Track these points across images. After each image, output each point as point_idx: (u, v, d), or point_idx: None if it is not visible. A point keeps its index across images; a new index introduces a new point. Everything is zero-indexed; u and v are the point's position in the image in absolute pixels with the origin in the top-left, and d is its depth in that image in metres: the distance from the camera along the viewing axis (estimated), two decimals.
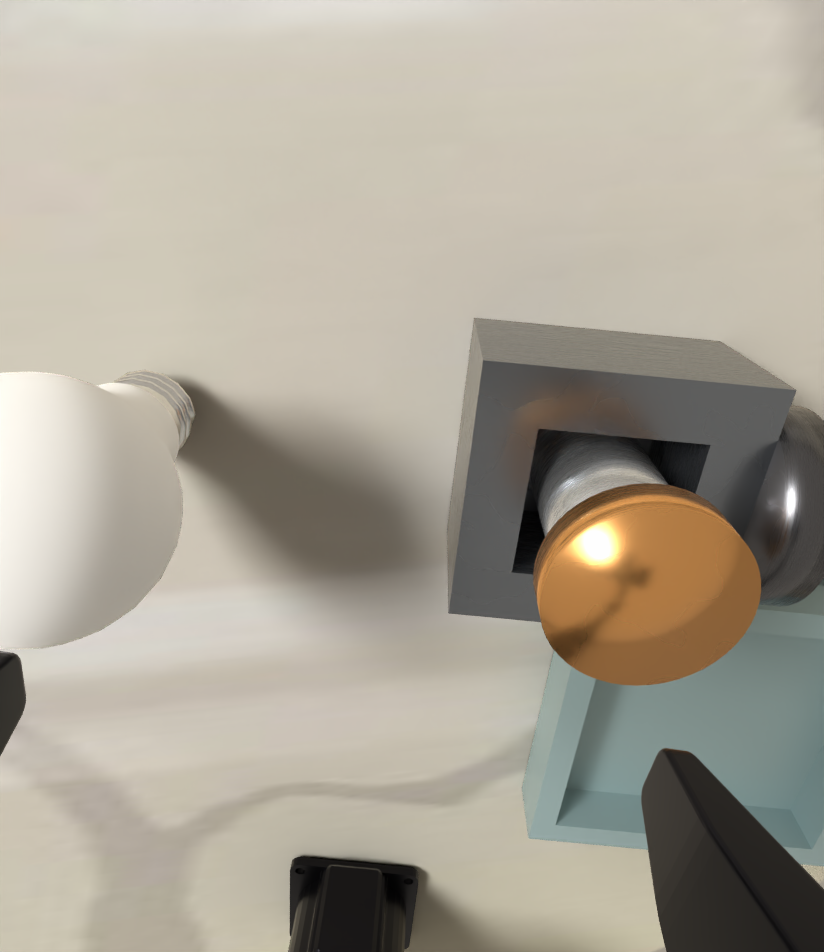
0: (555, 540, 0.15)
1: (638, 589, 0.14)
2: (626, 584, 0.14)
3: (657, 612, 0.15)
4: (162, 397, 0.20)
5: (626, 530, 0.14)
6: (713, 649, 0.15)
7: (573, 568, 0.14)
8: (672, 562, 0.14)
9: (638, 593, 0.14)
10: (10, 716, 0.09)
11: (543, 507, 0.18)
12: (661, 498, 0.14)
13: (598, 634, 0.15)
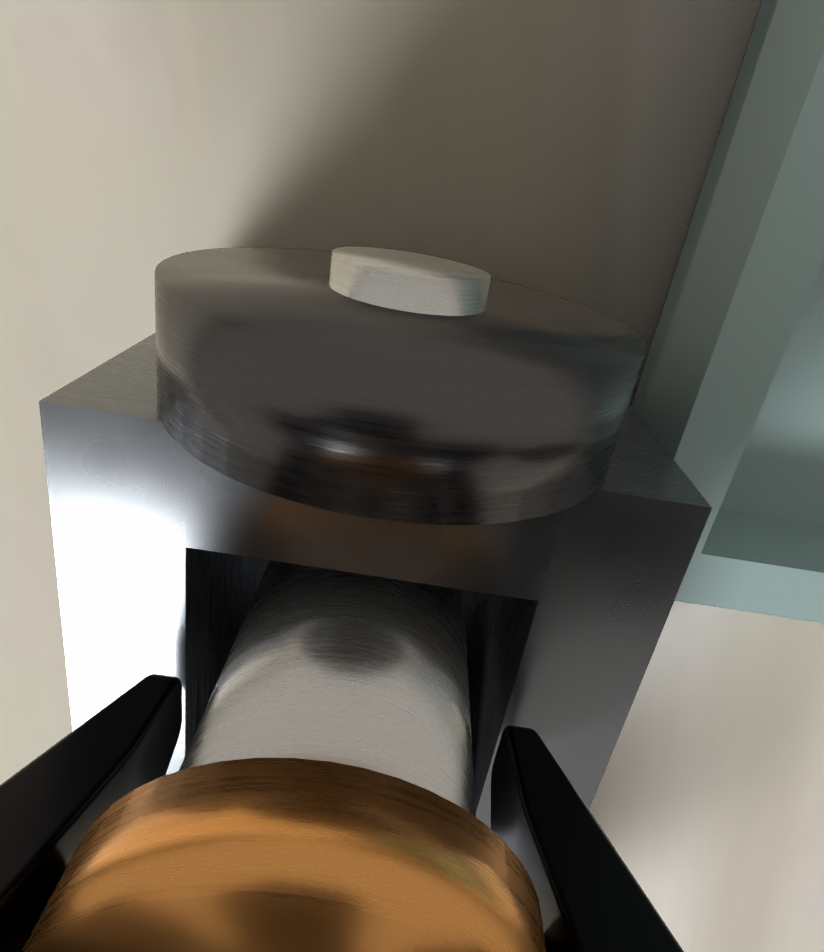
0: None
1: None
2: None
3: None
4: None
5: None
6: None
7: None
8: None
9: None
10: (172, 739, 0.09)
11: None
12: None
13: None
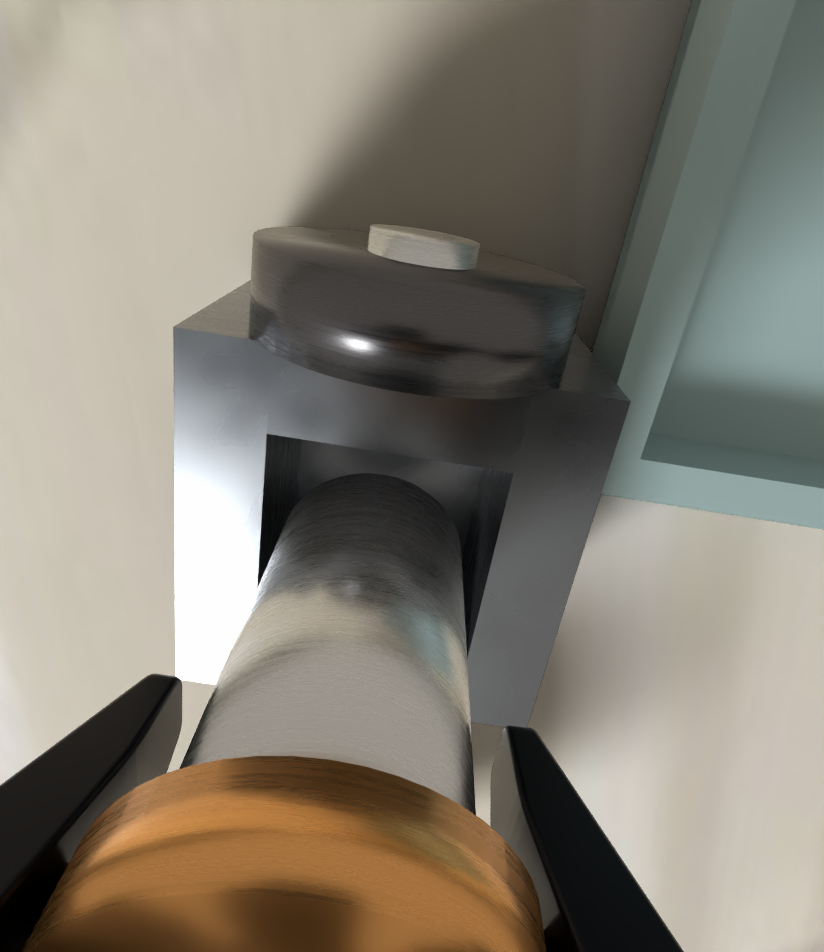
0: None
1: None
2: None
3: None
4: None
5: None
6: None
7: None
8: None
9: None
10: (172, 739, 0.09)
11: None
12: None
13: None
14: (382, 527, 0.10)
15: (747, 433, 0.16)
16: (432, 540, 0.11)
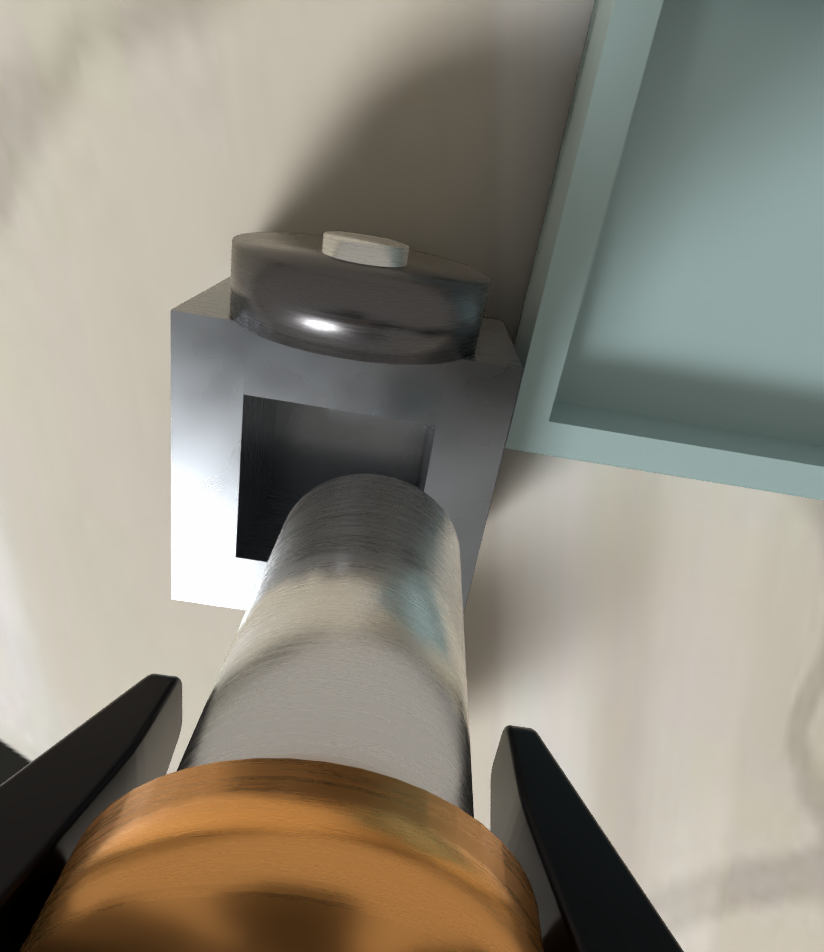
0: None
1: None
2: None
3: None
4: None
5: None
6: None
7: None
8: None
9: None
10: (173, 739, 0.09)
11: None
12: None
13: None
14: (381, 528, 0.10)
15: (644, 403, 0.20)
16: (431, 541, 0.11)
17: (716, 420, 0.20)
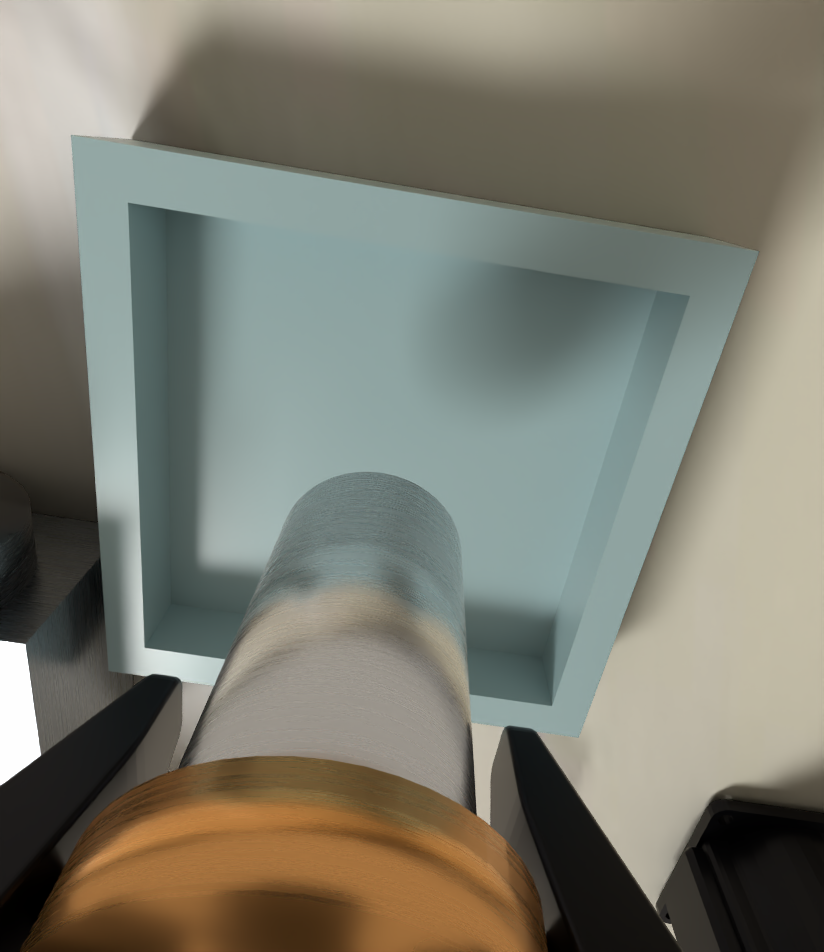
0: None
1: None
2: None
3: None
4: None
5: None
6: None
7: None
8: None
9: None
10: (173, 739, 0.09)
11: None
12: None
13: None
14: (382, 525, 0.10)
15: None
16: (432, 539, 0.11)
17: None
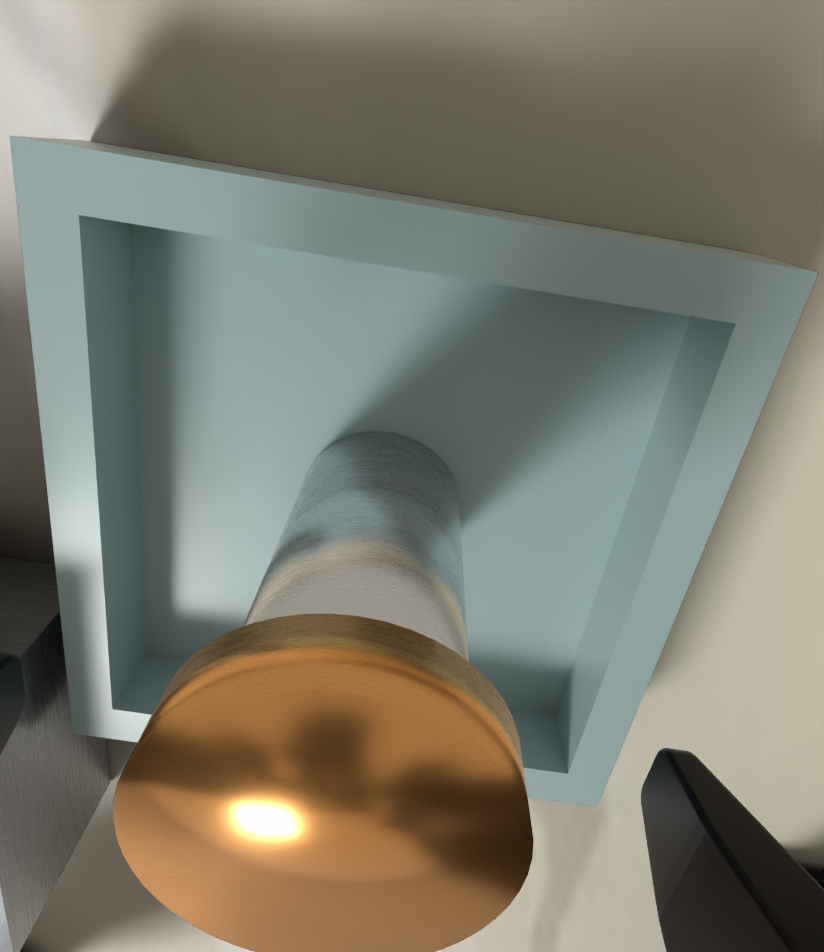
0: None
1: (290, 859, 0.08)
2: (278, 874, 0.08)
3: (342, 836, 0.07)
4: None
5: (166, 874, 0.08)
6: (442, 754, 0.07)
7: (251, 929, 0.08)
8: (225, 820, 0.07)
9: (299, 860, 0.08)
10: (10, 716, 0.09)
11: None
12: None
13: (395, 905, 0.08)
14: (391, 472, 0.12)
15: None
16: (434, 485, 0.13)
17: None
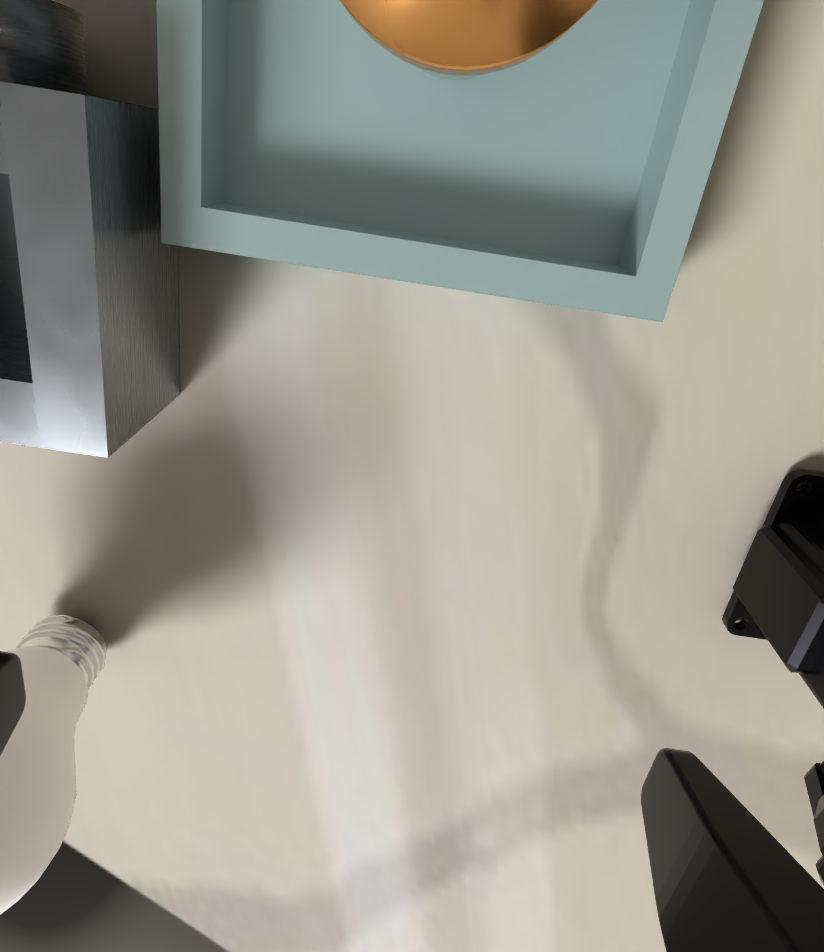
0: (377, 39, 0.10)
1: None
2: None
3: None
4: (21, 645, 0.23)
5: None
6: None
7: (396, 6, 0.09)
8: None
9: None
10: (10, 716, 0.09)
11: None
12: None
13: None
14: None
15: (339, 205, 0.18)
16: None
17: (423, 224, 0.18)
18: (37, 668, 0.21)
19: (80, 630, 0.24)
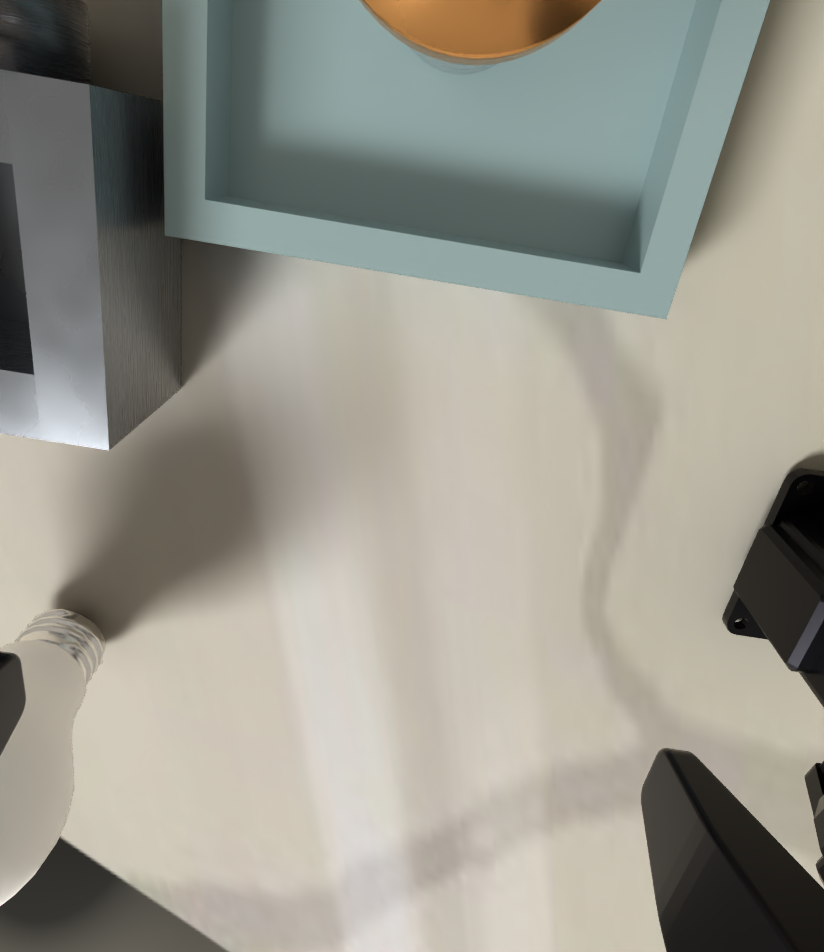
0: (388, 27, 0.10)
1: None
2: None
3: None
4: (20, 639, 0.23)
5: None
6: None
7: None
8: None
9: None
10: (10, 716, 0.09)
11: None
12: None
13: None
14: None
15: (343, 200, 0.18)
16: None
17: (426, 219, 0.18)
18: (36, 662, 0.21)
19: (79, 624, 0.24)
